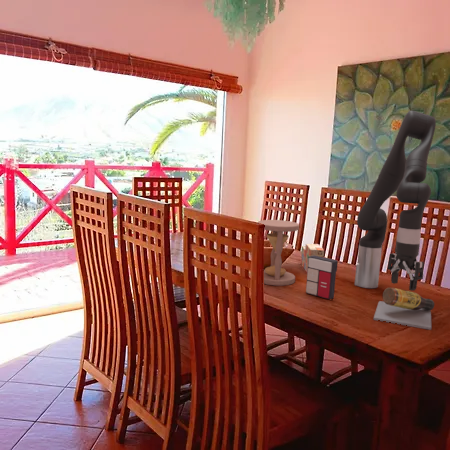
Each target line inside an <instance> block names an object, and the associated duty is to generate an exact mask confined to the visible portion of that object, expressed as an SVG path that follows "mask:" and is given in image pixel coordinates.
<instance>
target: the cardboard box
mask: <svg viewBox="0 0 450 450" xmlns="http://www.w3.org/2000/svg"><path fill="white" fill-rule="evenodd" d="M313 255H315V256H320V257H324V255H325V249H324V248H323V247H322V246H321V245H320V244H318V243H305V245H301V255H300V256H301V257H300V265H301V266H302V268H303V269H304V270H305V271H306V273H307V271H308V258H309V256H313Z"/></svg>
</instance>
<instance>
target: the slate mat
mask: <svg viewBox="0 0 450 450" xmlns="http://www.w3.org/2000/svg"><path fill="white" fill-rule="evenodd" d="M378 320H380V321H379V322H383V321H386V322H385V323H389V322H391V323H390V324H395V323H397V324H396V325H400V324H401V326H406V325H407V326H406V327H413V328H416V329H417V328H418V329H424V330H430V331H432V310H426V309H420V310H411V309H405V308H400V307H395V306H391V305H388V304H386V303H385V302H384V300H382V301H381V300H379V301H378V303H377V306H376V309H375V312H374V315H373V321H378Z"/></svg>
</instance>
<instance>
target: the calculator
mask: <svg viewBox="0 0 450 450" xmlns="http://www.w3.org/2000/svg"><path fill="white" fill-rule="evenodd" d="M338 262H339V261H338V260H337V259H333V258H328V257H324V256H323V257H320V256H315V255H313V256H309V258H308V271H307V272H306V285H305V293H306V294H308V295H311V296H315V297H318V298H322V299H326V300H331V299H334V298H335V288H336V276H337V271H338Z"/></svg>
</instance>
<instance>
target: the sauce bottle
mask: <svg viewBox="0 0 450 450" xmlns="http://www.w3.org/2000/svg"><path fill="white" fill-rule="evenodd" d="M382 301H383V302H385V303H386V304H388V305H391V306H395V307H400V308H405V309H411V310H420V309H426V310H431V311H432V310H434V307H435V301H433V300H432V299H430V298H424V297H423V296H421V295H420V294H419V293H417V292H413V291H411V290H405V289H400V288H397V287H396V288H395V287H387V288H385V289H384V291H383V292H382Z"/></svg>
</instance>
